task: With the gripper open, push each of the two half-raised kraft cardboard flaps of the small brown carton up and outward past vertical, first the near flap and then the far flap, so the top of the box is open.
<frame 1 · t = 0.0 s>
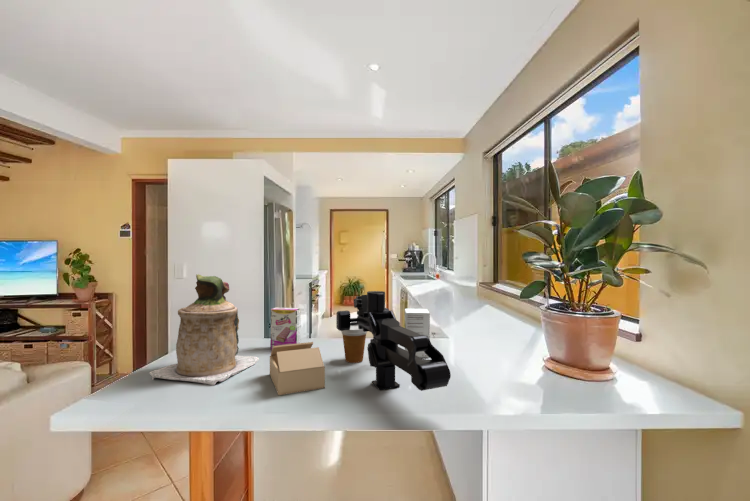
hand: (354, 315, 127), 17 cm above the countertop, tool horizontal, fingers open, 9 cm apart
cookie jar: (208, 370, 117), on the countertop
candy bar box: (285, 349, 143), on the countertop
far flap: (291, 348, 113), point 8 cm above the countertop, hinge at 35.0°
near flap: (300, 359, 101), point 8 cm above the countertop, hinge at 35.0°
carton: (295, 380, 107), on the countertop
disposable coffee cup: (354, 361, 128), on the countertop
supplement box: (416, 354, 136), on the countertop
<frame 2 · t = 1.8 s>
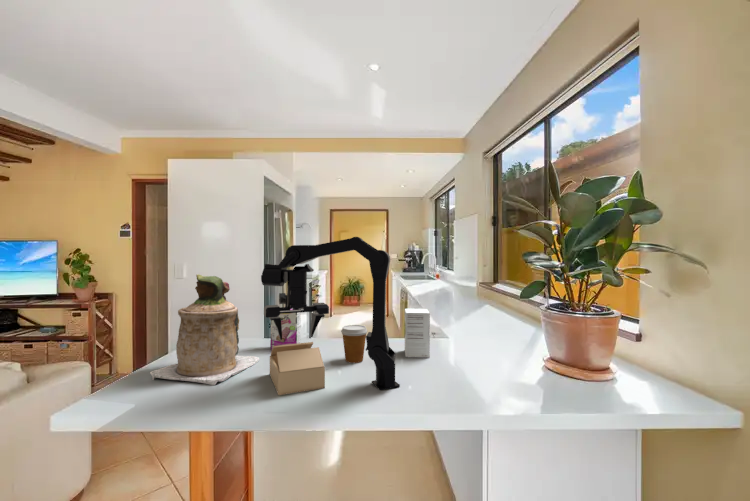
hand: (296, 338, 107), 13 cm above the countertop, tool pointing down, fingers open, 9 cm apart
nothing on the countertop moved.
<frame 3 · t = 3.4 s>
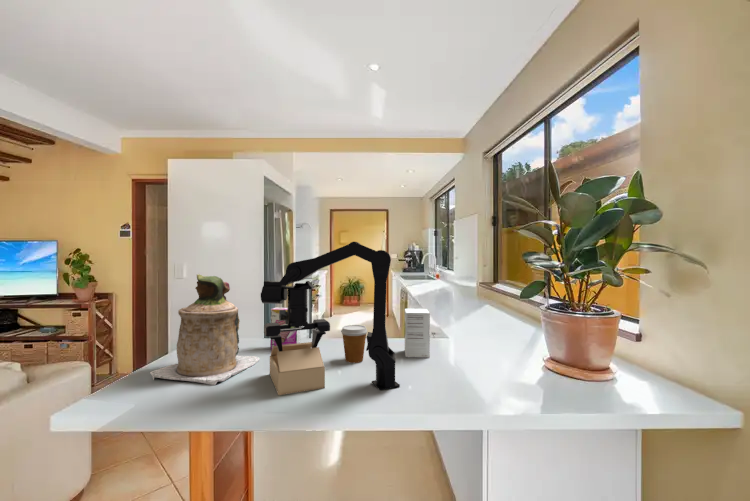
hand: (297, 356, 105), 8 cm above the countertop, tool pointing down
near flap: (300, 359, 101), point 8 cm above the countertop, hinge at 35.3°, touching gripper
everything else where it was.
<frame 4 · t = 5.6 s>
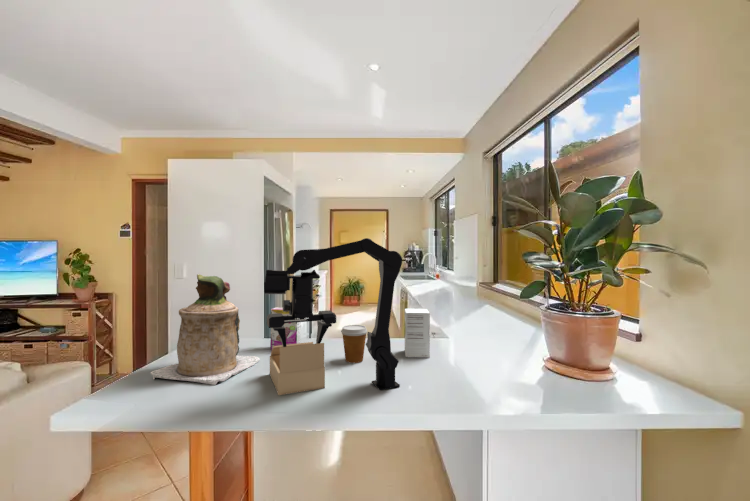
hand: (301, 348, 100), 12 cm above the countertop, tool pointing down
near flap: (302, 357, 99), point 10 cm above the countertop, hinge at 88.4°, touching gripper
everything else where it was.
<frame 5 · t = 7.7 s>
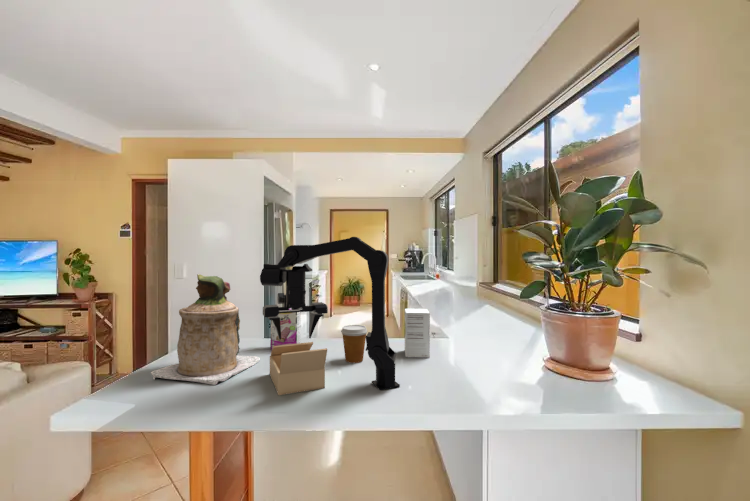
hand: (295, 337, 107), 13 cm above the countertop, tool pointing down, fingers open, 9 cm apart
near flap: (303, 361, 97), point 9 cm above the countertop, hinge at 117.0°
everything else where it was.
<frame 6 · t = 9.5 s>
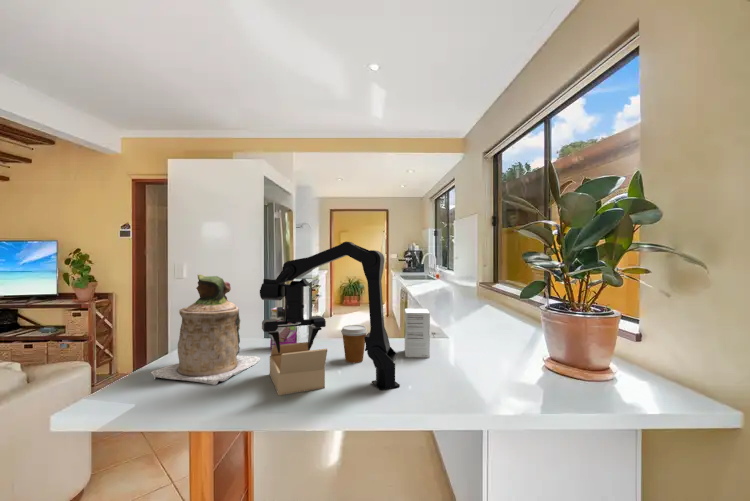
hand: (294, 351, 109), 8 cm above the countertop, tool pointing down
far flap: (291, 348, 113), point 8 cm above the countertop, hinge at 36.1°, touching gripper
near flap: (303, 361, 97), point 9 cm above the countertop, hinge at 117.6°
everything else where it was.
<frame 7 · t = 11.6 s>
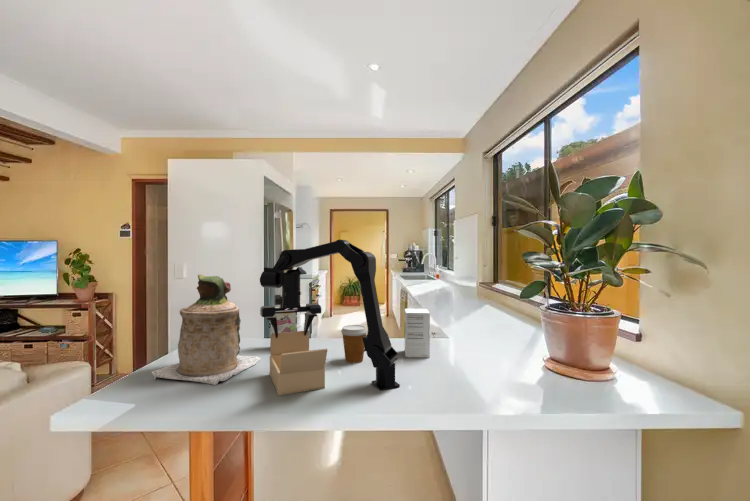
hand: (291, 336, 114), 12 cm above the countertop, tool pointing down
far flap: (290, 342, 115), point 10 cm above the countertop, hinge at 87.3°, touching gripper
everything else where it was.
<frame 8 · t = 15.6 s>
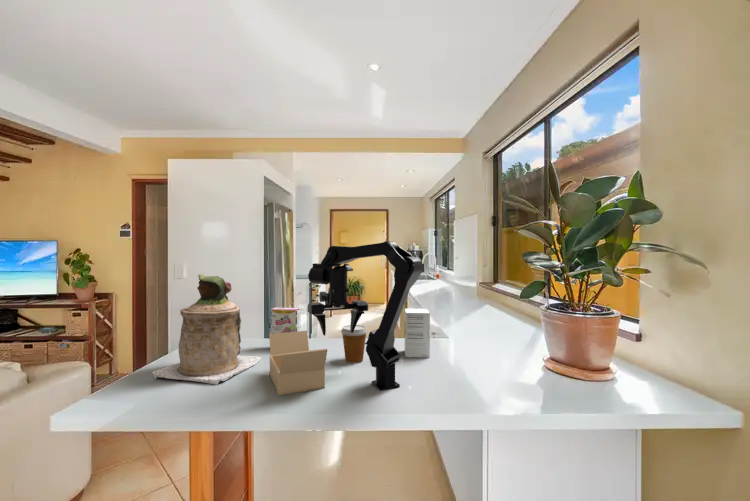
hand: (338, 334, 113), 13 cm above the countertop, tool pointing down, fingers open, 9 cm apart
far flap: (289, 342, 117), point 9 cm above the countertop, hinge at 115.8°, touching carton
everything else where it was.
at the end: near flap at +118° (first picture: +35°); far flap at +116° (first picture: +35°) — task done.
